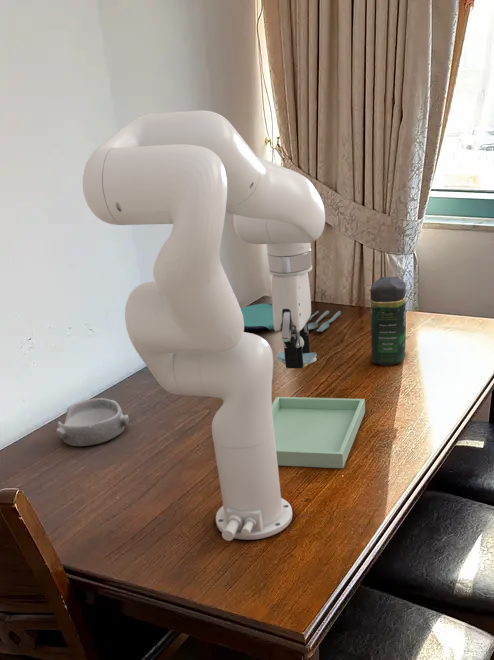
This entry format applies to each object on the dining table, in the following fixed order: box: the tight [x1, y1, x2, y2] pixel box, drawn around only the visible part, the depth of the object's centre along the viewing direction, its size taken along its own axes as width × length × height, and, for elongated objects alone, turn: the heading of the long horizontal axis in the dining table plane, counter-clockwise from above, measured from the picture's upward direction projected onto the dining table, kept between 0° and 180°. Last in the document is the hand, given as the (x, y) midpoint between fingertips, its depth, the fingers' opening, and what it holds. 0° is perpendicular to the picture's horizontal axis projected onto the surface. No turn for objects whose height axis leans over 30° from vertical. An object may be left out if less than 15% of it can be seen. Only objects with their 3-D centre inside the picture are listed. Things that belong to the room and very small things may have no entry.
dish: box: [55, 397, 130, 447], centre depth 160 cm, size 14×14×5 cm
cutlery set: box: [240, 302, 342, 333], centre depth 210 cm, size 20×30×2 cm, turn 64°
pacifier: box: [276, 334, 318, 368], centre depth 142 cm, size 7×6×6 cm
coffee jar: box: [369, 276, 407, 366], centre depth 177 cm, size 10×8×19 cm
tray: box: [272, 396, 366, 469], centre depth 150 cm, size 24×19×3 cm
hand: (298, 360), depth 143 cm, fingers closed on pacifier, 4 cm apart
